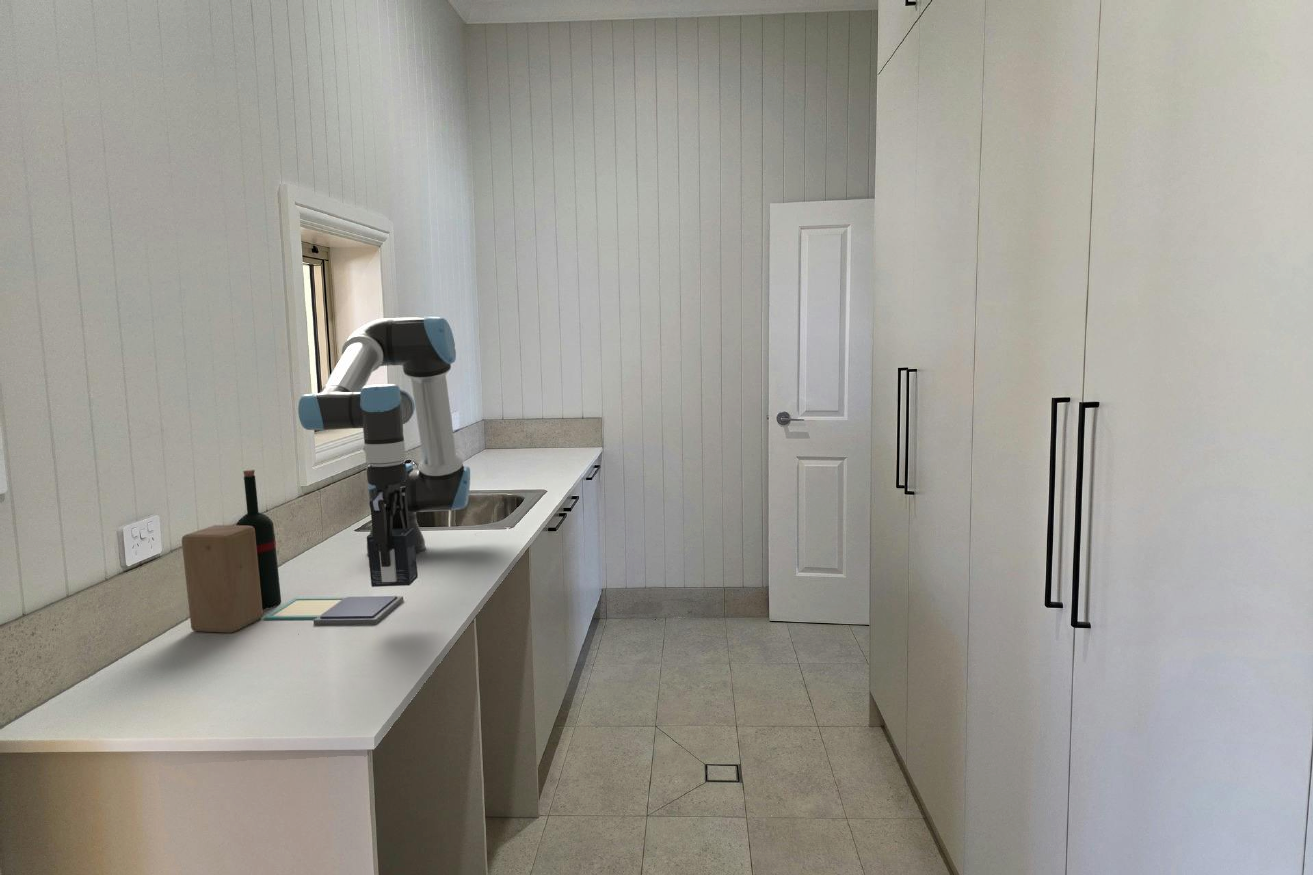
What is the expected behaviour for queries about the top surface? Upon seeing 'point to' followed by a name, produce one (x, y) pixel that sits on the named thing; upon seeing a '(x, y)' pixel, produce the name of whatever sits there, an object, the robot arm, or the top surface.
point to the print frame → (303, 608)
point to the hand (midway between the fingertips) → (395, 576)
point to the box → (403, 559)
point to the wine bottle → (262, 544)
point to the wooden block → (222, 578)
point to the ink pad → (359, 610)
